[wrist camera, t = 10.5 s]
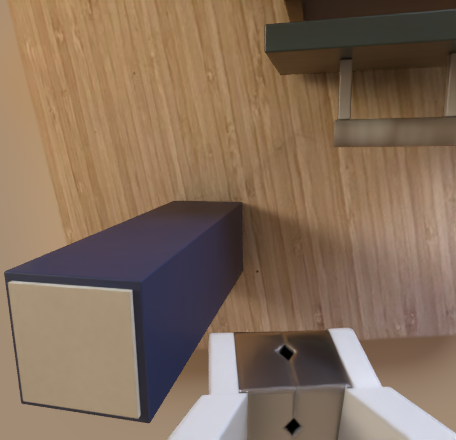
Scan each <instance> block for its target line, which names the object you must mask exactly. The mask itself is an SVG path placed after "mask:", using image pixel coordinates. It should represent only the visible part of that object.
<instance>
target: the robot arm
mask: <svg viewBox="0 0 456 440" xmlns="http://www.w3.org/2000/svg"><path fill="white" fill-rule="evenodd" d="M167 440H456V433H455V432H454V431H452V430H451V429H449V428H448V427H446V426H445V425H444V424H442V423H441V422H439V421H437V420H436V419H435V418H434V417H432V416H431V415H429V414H428V413H426V412H425V411H424V410H422V409H421V408H419V407H418V406H416V405H415V404H413V403H412V402H411V401H409V400H408V399H407V398H405V397H403V396H402V395H401V394H399V393H398V392H397V391H395V390H394V389H392V388H391V387H382V385H381V384H380V381H379V380H378V378H377V376H376V374H375V372H374V370H373V368H372V366H371V364H370V362H369V360H368V358H367V356H366V354H365V352H364V350H363V348H362V346H361V344H360V342H359V340H358V338H357V336H356V334H355V332H354V331H353V330H352V329H351V328H335V329H326V330H306V331H284V332H234V334H233V333H210V334H209V395H201V396H200V397H199V399H198V400H197V401H196V402H195V404H194V405H193V406H192V408H191V409H190V410H189V411H188V413H187V414H186V415H185V417H184V418H183V419H182V421H181V422H180V423H179V424H178V426H177V427H176V428H175V430H174V431H173V432H172V433H171V435H170V436H169V437H168V438H167Z"/></svg>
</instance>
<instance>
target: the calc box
mask: <svg viewBox="0 0 456 440" xmlns="http://www.w3.org/2000/svg"><path fill="white" fill-rule="evenodd" d="M242 271H243V249H242V202H207V201H173V202H170V203H168V204H165V205H163V206H161V207H158V208H156V209H153V210H151V211H149V212H146V213H144V214H141V215H139V216H137V217H134V218H132V219H129V220H127V221H125V222H122V223H120V224H117V225H115V226H113V227H110V228H108V229H105V230H103V231H101V232H98V233H96V234H94V235H91V236H89V237H86V238H84V239H82V240H79V241H77V242H74V243H72V244H70V245H67V246H65V247H63V248H60V249H58V250H55V251H53V252H50V253H48V254H46V255H43V256H41V257H39V258H36V259H34V260H31V261H29V262H26V263H24V264H22V265H19V266H17V267H15V268H12V269H10V270H7V271H5V272H4V274H5V282H6V290H7V297H8V305H9V313H10V320H11V328H12V336H13V343H14V351H15V358H16V366H17V372H18V373H17V374H18V381H19V389H20V397H21V403H22V404H28V405H34V406H41V407H47V408H54V409H60V410H66V411H73V412H80V413H86V414H93V415H99V416H105V417H112V418H119V419H125V420H131V421H138V422H145V423H150V422H151V420H152V419H153V417H154V415H155V414H156V412H157V410H158V409H159V407H160V405H161V404H162V402H163V401H164V399H165V397H166V396H167V394H168V392H169V391H170V389H171V387H172V386H173V384H174V383H175V381H176V379H177V378H178V376H179V374H180V373H181V371H182V370H183V367H184V366H185V365H186V363H187V361H188V360H189V358H190V356H191V355H192V353H193V352H194V350H195V348H196V347H197V345H198V343H199V342H200V340H201V339H202V337H203V335H204V334H205V332H206V330H207V329H208V327H209V325H210V324H211V322H212V321H213V319H214V317H215V316H216V314H217V312H218V311H219V309H220V307H221V306H222V304H223V303H224V301H225V299H226V298H227V296H228V294H229V293H230V291H231V290H232V288H233V286H234V285H235V283H236V281H237V280H238V278H239V276H240V275H241V273H242Z"/></svg>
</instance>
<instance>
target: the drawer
mask: <svg viewBox="0 0 456 440" xmlns="http://www.w3.org/2000/svg"><path fill="white" fill-rule="evenodd" d="M284 2H285V6H286V9H287V13H288V16H289V20H290V23H277V24H266V25H265V53H266V54H267V56H268V57H269V59H270V60H271V62H272V63H273V65H274V66H275V68H276V69H277V70H278V72H279V73H280V75H291V74H310V73H329V72H340V73H339V100H338V120H334V127H333V147H412V146H456V0H284ZM442 66H447V74H446V86H445V98H444V110H443V117H424V118H386V119H350V116H351V92H352V71H367V70H386V69H405V68H423V67H442Z"/></svg>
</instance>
